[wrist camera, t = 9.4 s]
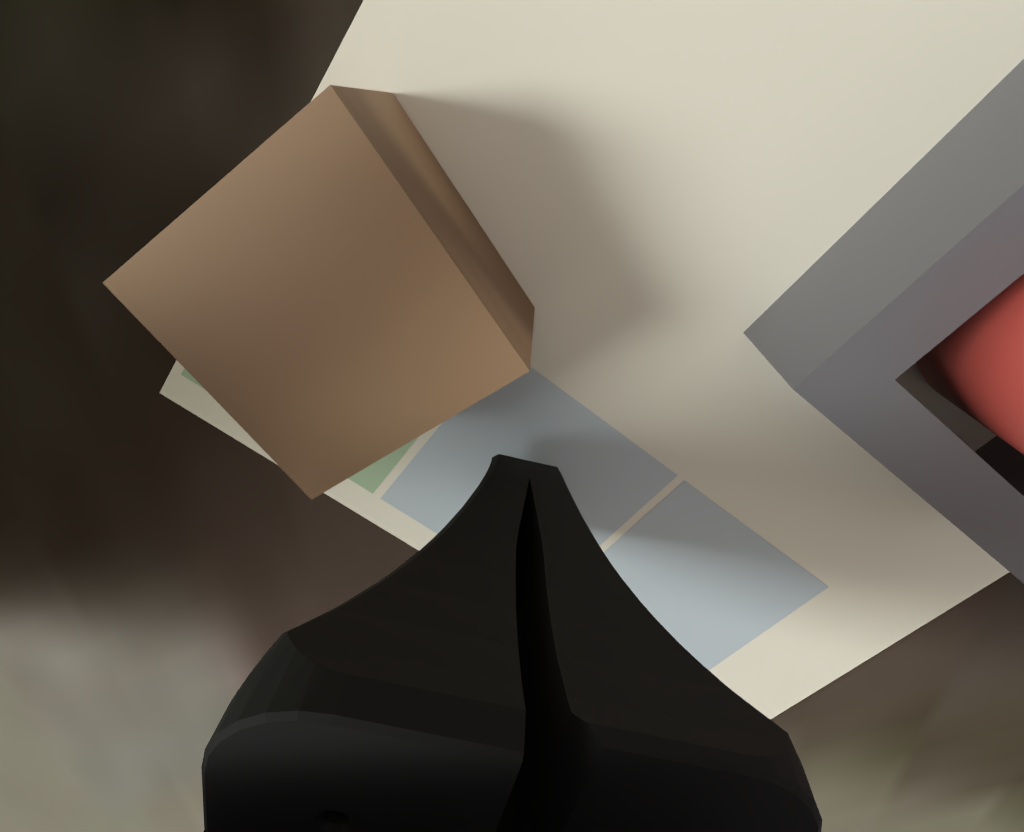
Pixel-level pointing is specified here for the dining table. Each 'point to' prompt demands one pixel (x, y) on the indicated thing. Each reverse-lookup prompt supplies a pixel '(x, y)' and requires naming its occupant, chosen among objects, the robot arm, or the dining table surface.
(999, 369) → the dome button
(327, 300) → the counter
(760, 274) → the board
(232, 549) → the dining table surface
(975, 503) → the dome collar
